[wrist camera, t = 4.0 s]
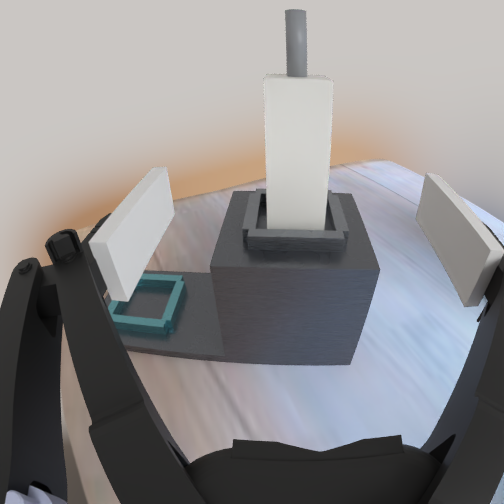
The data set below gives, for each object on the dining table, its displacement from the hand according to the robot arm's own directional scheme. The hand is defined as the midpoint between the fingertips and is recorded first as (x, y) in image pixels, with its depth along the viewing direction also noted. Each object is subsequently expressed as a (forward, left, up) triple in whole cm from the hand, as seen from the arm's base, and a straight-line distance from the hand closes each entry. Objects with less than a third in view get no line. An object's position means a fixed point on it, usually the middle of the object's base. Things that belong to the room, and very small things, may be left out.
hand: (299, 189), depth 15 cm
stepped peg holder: (-6, -10, -19) cm, 23 cm away
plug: (-8, -3, -7) cm, 11 cm away
